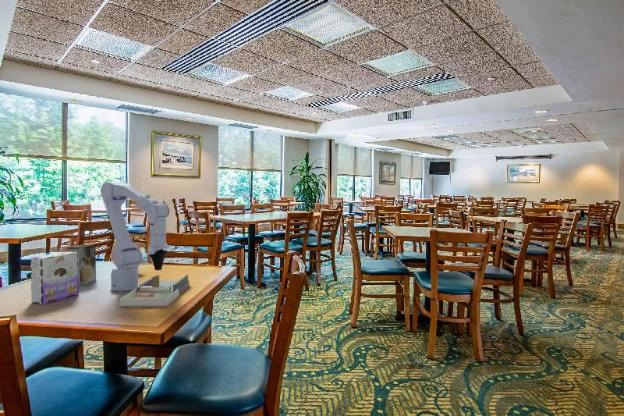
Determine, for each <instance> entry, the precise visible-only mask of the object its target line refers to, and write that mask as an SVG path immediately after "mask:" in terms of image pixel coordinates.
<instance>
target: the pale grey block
mask: <svg viewBox="0 0 624 416" xmlns="http://www.w3.org/2000/svg"><path fill="white" fill-rule="evenodd" d="M151 278H152V286H141V287H139V291H140V292H154V291H171V286H159V281H160V275H158V276H155V275H153V276H152V277H151Z"/></svg>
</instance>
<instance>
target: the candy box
mask: <svg viewBox="0 0 624 416" xmlns="http://www.w3.org/2000/svg"><path fill="white" fill-rule="evenodd" d="M30 279H31V280H30V281H31V286H30V287H31V288H30V289H31V303H34V304H37V305H38V304H39V305H46V304H49V303H51V302H53V303H54V302H56V301H59V300H63V299H66V298H71V297H74V296H78V295H79V294H80V287H79V281H78V252H67V251H65V252H64V251H63V252H57V253H51V254H50V253H49V254H44V255H37V256H32V257H30Z"/></svg>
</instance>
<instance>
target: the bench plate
mask: <svg viewBox="0 0 624 416" xmlns="http://www.w3.org/2000/svg"><path fill="white" fill-rule="evenodd" d="M154 276H159V274H155V275H154ZM139 285H140V287H141V286H152V277H150V278H149V279H147V280H145V281H144V282H142V283H141V284H139ZM159 286H171V291H169V292H174V291H176V290H177V289H179V295H180V294H181V293H182V292H183V291H185V290H186V289H187V288H188V287H189V286H190V280H189V274H185V275H184V276H183V277H182V278H180V279H178V280H159ZM140 287H139V288H140ZM154 292H158V291H154ZM138 293H141V292H140V290H139V291H138Z"/></svg>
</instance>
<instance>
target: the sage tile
mask: <svg viewBox="0 0 624 416" xmlns="http://www.w3.org/2000/svg"><path fill="white" fill-rule="evenodd" d="M168 296H169V291H158V292H157V293H155V294H154V298H167V297H168Z"/></svg>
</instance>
